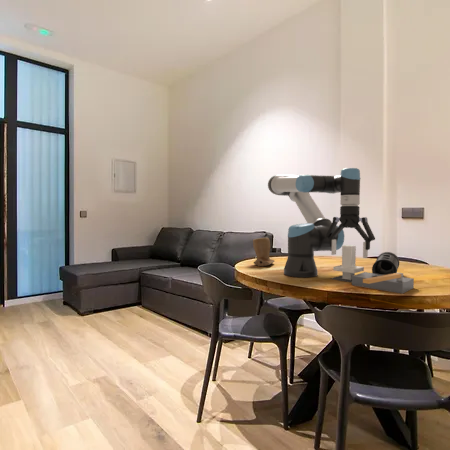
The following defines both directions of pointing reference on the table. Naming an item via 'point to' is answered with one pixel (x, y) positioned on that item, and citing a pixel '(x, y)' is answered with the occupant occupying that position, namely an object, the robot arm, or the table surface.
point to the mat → (341, 279)
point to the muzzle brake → (386, 264)
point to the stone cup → (262, 251)
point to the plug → (348, 262)
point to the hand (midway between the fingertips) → (348, 256)
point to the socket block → (384, 283)
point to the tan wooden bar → (382, 278)
